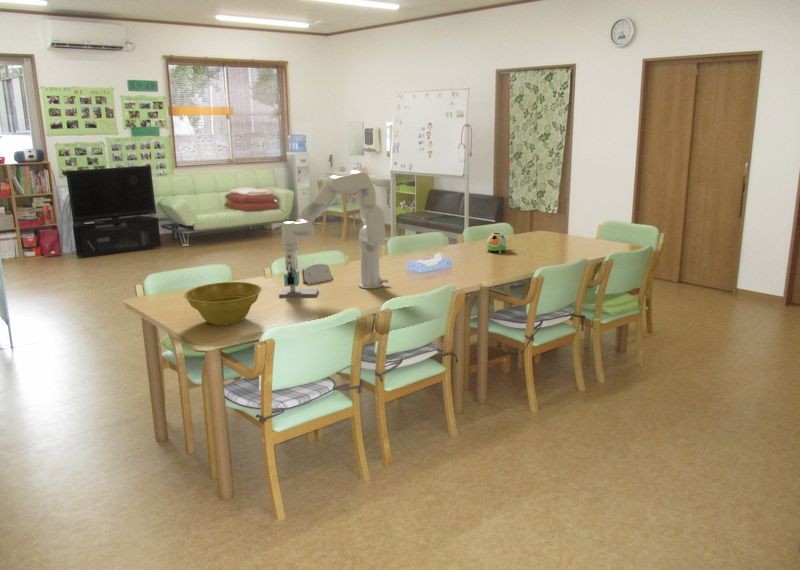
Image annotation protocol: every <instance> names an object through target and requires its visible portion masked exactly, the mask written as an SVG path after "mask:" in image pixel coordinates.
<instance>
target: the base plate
mask: <svg viewBox="0 0 800 570" xmlns="http://www.w3.org/2000/svg"><path fill="white" fill-rule="evenodd" d="M318 293H319V288H296V286H289V288H282V289H281V291H280V292H279V295H278V298H316V297H317V296H318Z"/></svg>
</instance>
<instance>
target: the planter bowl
mask: <svg viewBox="0 0 800 570" xmlns="http://www.w3.org/2000/svg"><path fill="white" fill-rule="evenodd" d="M262 291H263V290H262V287H261V286H260V285H258V284H256V283H251V282H243V281H237V282H236V281H226V282H224V281H223V282H217V283H209V284H204V285H201V286H196V287H194V288H191V289H189V290H187V291H186V292H185V293H184V294H183V297H184V298H185V299H186V300H187V302H188V303H189V305H190V307H192V308H193V309H195V310H197V311H198V313H199V314H200V316H201V317H202V318H203V320H205V322H206V323H208V324H210V323H211V325H213V324H216V325H215V326H226V325H225V324H231V325H234V324H233V323H235V324H238V323H240V322H242V321H243V320H244V319H246V317H247V316H248V314H249V312H250V309H251V308H252V305H253V304H255V303H256V301H257V300H258V298H259V295H260V293H261V292H262ZM239 321H240V322H239ZM237 322H238V323H237Z"/></svg>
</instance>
